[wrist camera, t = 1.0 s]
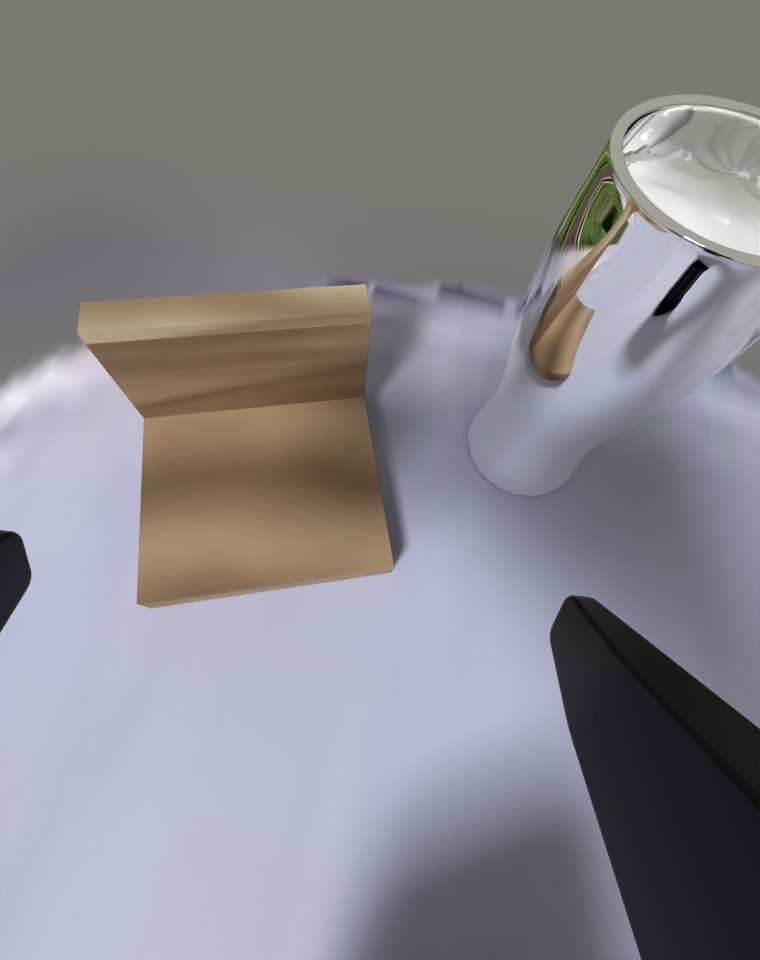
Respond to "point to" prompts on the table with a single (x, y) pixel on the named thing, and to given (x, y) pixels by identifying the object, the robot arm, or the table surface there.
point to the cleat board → (248, 438)
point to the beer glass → (632, 291)
